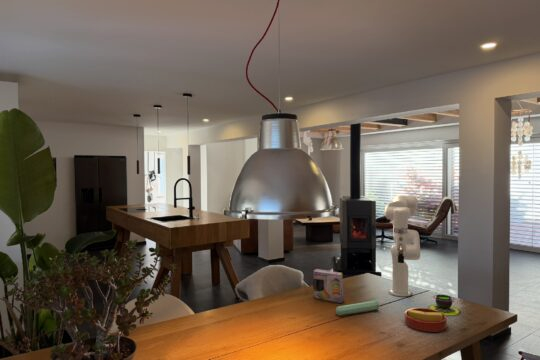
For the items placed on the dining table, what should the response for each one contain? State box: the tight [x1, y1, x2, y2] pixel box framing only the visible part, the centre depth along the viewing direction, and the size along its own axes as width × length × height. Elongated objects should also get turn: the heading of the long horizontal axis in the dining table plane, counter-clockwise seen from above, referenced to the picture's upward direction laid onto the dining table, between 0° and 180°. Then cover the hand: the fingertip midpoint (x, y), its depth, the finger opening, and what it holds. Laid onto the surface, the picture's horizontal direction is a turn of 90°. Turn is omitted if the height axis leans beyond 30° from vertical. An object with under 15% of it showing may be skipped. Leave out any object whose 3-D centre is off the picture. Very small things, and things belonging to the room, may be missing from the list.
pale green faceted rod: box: [335, 299, 380, 317], centre depth 208 cm, size 6×6×25 cm
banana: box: [409, 310, 443, 321], centre depth 191 cm, size 5×16×3 cm, turn 71°
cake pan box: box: [312, 268, 345, 304], centre depth 229 cm, size 19×5×18 cm, turn 53°
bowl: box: [404, 307, 448, 333], centre depth 190 cm, size 20×20×5 cm
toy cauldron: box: [428, 291, 460, 316], centre depth 209 cm, size 15×15×11 cm
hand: (400, 260), depth 211 cm, fingers open, 9 cm apart
